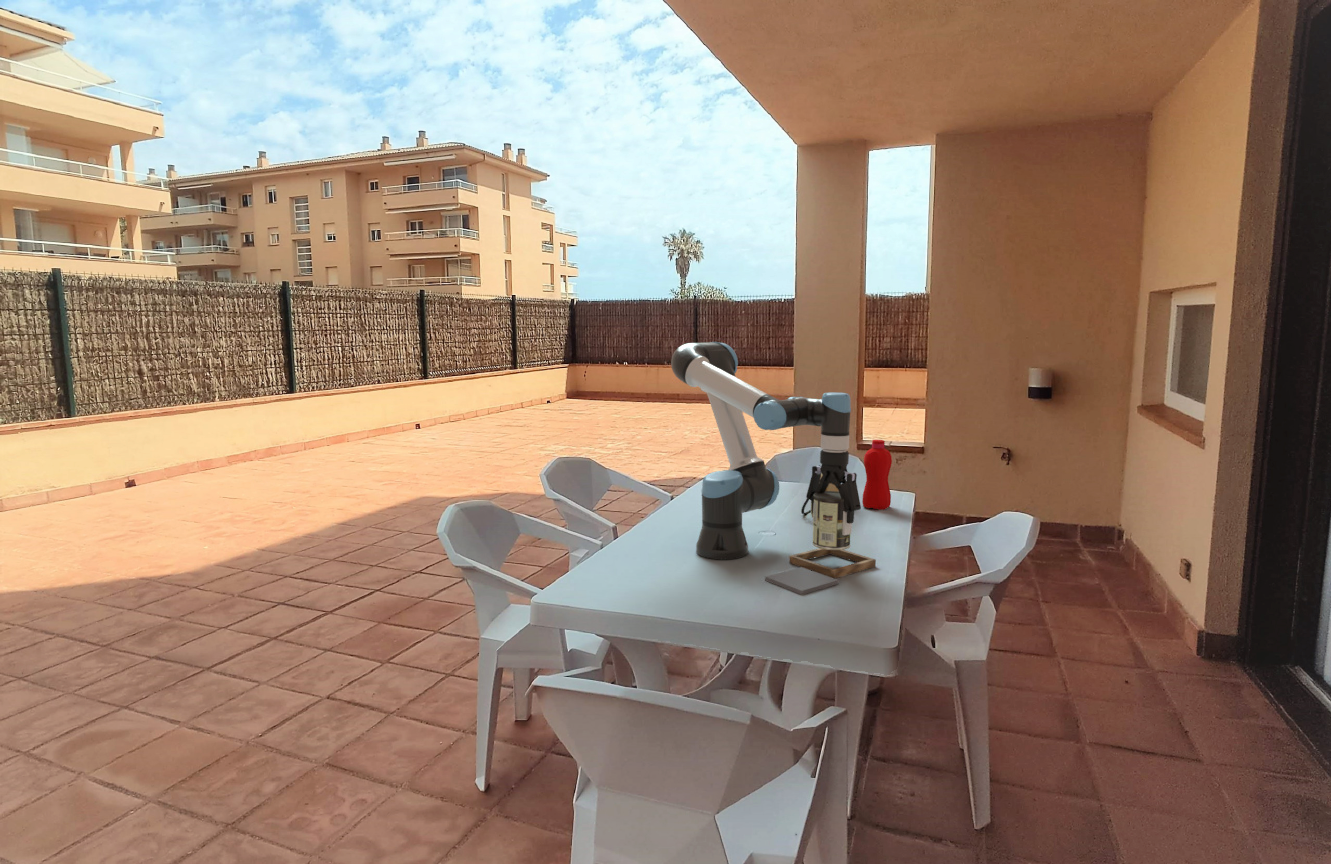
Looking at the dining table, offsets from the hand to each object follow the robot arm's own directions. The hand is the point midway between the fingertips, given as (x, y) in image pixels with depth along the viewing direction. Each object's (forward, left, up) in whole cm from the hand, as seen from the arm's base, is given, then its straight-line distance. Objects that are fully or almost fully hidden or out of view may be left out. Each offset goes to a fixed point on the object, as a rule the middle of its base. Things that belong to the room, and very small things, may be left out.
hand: (831, 529), depth 198 cm
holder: (0, 0, -10) cm, 10 cm away
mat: (-17, -5, -10) cm, 20 cm away
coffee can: (0, 0, -5) cm, 5 cm away
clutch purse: (+43, +44, -10) cm, 63 cm away
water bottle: (+64, +36, -10) cm, 74 cm away
